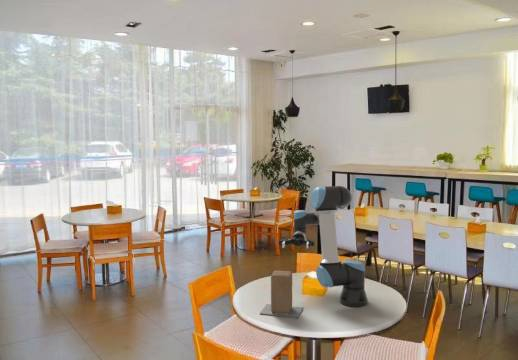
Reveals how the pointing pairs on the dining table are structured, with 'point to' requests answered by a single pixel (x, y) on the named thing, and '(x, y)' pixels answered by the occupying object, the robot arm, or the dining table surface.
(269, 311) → the letter board
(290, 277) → the block
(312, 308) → the dining table surface
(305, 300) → the dining table surface
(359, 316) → the dining table surface
